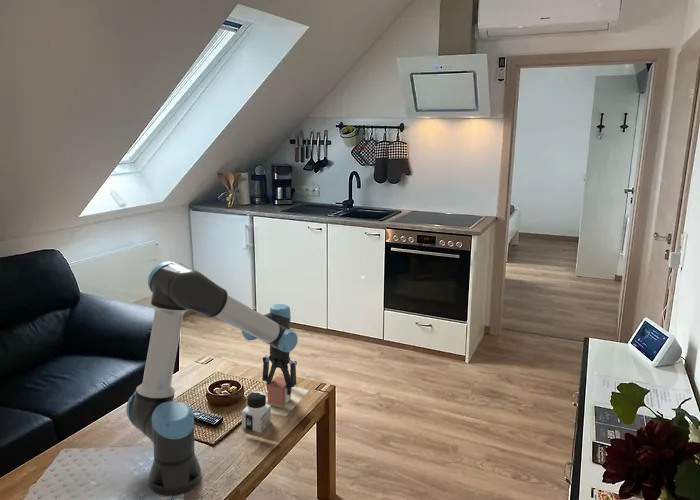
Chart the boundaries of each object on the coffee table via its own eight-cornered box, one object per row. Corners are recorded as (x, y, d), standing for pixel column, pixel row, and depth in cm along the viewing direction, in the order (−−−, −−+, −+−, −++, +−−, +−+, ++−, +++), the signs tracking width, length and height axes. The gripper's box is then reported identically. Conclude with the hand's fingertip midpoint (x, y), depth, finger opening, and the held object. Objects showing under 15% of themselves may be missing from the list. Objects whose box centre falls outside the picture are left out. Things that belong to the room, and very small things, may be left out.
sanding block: (281, 407, 204) (281, 388, 202) (267, 404, 206) (267, 385, 204) (290, 397, 211) (291, 379, 210) (277, 394, 213) (277, 376, 211)
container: (260, 435, 188) (261, 401, 185) (241, 430, 191) (241, 397, 188) (271, 424, 195) (271, 391, 192) (252, 419, 198) (252, 387, 195)
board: (285, 419, 199) (285, 416, 199) (252, 411, 203) (252, 408, 203) (309, 392, 219) (309, 389, 219) (278, 385, 224) (278, 383, 223)
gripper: (306, 345, 203) (305, 400, 209) (262, 336, 209) (261, 390, 215) (298, 352, 196) (297, 409, 202) (252, 343, 202) (252, 399, 208)
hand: (279, 399), depth 208 cm, fingers closed on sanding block, 6 cm apart
